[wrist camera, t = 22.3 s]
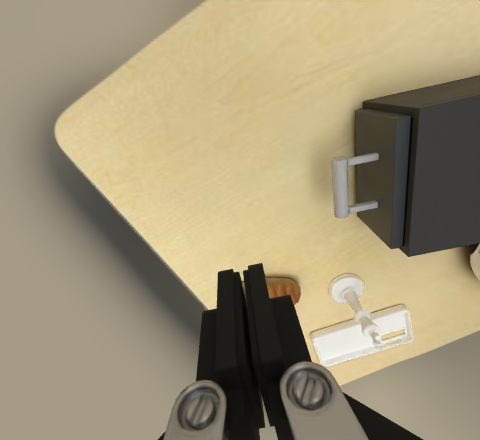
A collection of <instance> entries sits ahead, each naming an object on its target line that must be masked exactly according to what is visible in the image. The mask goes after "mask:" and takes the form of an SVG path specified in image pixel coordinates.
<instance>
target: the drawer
mask: <svg viewBox="0 0 480 440" xmlns="http://www.w3.org/2000/svg"><path fill="white" fill-rule="evenodd" d="M412 124H413V118H412V117H411V115H405V114H399V113H393V112H387V111H381V110H375V109H369V108H363V109H359V110H355V128H356V157H351V158H346V157H336V158H333V159H332V160H331V164H332V181H333V198H334V215H335V217H336V218H346V217H348V216H349V213H354V212H357V216H358V217H359V218H360V219H361V220H362V221H363V222H364V223H365V224H366V225H367V226H368V227H369V228H370V229H371V230H372V231H373V232H374V233H375V234H376V235H377V236H378V237H379V238H380V239H381V240H382V241H383V242H384V243H385V244H386V245H387V246H388V247H389V248H390V249H394V248H399V247H403V235H404V228H405V226H406V212H407V197H408V183H409V168H410V154H411V139H412ZM355 164H356V182H357V204H355V205H350V206H349V201H348V170H347V166H351V165H355Z"/></svg>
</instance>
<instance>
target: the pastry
mask: <svg viewBox="0 0 480 440" xmlns="http://www.w3.org/2000/svg"><path fill="white" fill-rule="evenodd" d="M265 279H266V283H267V288H268V293H269V297H270V298H274V297H279V296H285V295H291V298H292V301H293V304H294V305H295V304H296V303H298V301H299V299H300V294H301V292H300V286H299V285H298V284H297V283H296V282H295V281H293V280H291V279H288V278H270V277H265ZM242 285H243V289H244V293H245V284H244V282H242ZM245 297H246V294H245Z"/></svg>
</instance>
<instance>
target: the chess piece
mask: <svg viewBox="0 0 480 440" xmlns="http://www.w3.org/2000/svg"><path fill="white" fill-rule="evenodd" d="M363 289H364V286H363V283H362V280H361V279H360V278H359V277H358V276H357V275H354V274H343V275H340V276H338V277H337V278H335V279H334V280H333V281H332V282H331V284H330V285H329V289H328V291H329V295H330V296H331V297H332V299H333V300H334V301H336V302H338V303H349V305H350V306H351V307H352V309H353V310H354V311H355V315H354V320H355V321H356V322H358V323H361V326H362V333H363V335H364V336H365V337H372V338H373V344H374V345H375V346H377V347H382V343H381V342H380V340H379V334H378V333H379V331H380V329H379V327H378V325H376V324H375V323H374V322H372V321H371V320H370V318H371V313H370V312H369V311H368V310H363V308H362V306H361V304H360V302H359V299H358V298H359V297H360V296H361V294H362V293H363Z"/></svg>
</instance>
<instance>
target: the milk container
mask: <svg viewBox="0 0 480 440" xmlns="http://www.w3.org/2000/svg"><path fill="white" fill-rule="evenodd" d="M470 264H471V267H472V270H473V272H474V274H475V276H476V277H477V278H478V279H479V281H480V243H477V244H472V245H471V246H470Z"/></svg>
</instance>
